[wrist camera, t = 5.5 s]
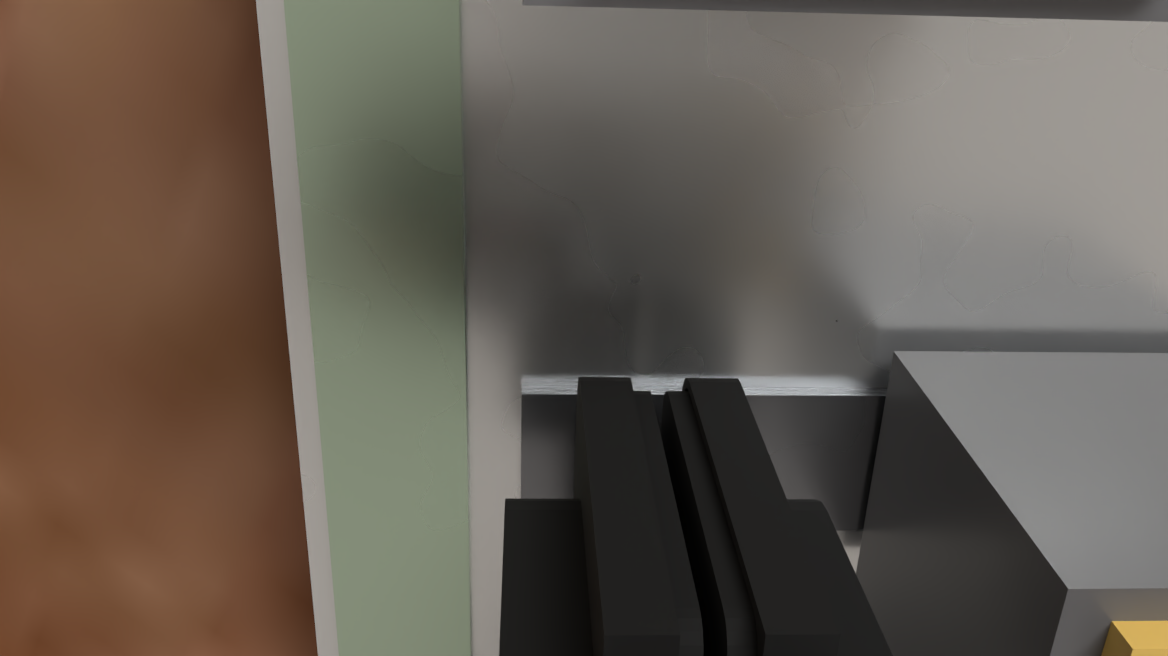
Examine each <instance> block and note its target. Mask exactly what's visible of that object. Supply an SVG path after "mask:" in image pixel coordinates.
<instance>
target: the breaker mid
mask: <svg viewBox="0 0 1168 656" xmlns="http://www.w3.org/2000/svg"><path fill="white" fill-rule="evenodd" d="M856 575H857V577H858V580H859V582H860V584H861V586H862V588H863V591H864V593H865V595H866V597H867V600H868V602H869V604H870V606H871V608H872V611H873V613H874V615H875V617H876V619H877V622H878V624H879V626H880V628H881V630H882V633H883V635H884V637H885V639H886V642H887V644H888V646H889V648H890V650H891V653H892V655H893V656H1168V353H1100V352H958V351H894V352H893V358H892V364H891V370H890V376H889V381H888V387H887V393H886V399H885V405H884V411H883V417H882V423H881V428H880V434H879V440H878V446H877V452H876V458H875V464H874V470H873V475H872V481H871V487H870V493H869V499H868V505H867V511H866V517H865V523H864V528H863V534H862V540H861V546H860V552H859V558H858V564H857V570H856Z"/></svg>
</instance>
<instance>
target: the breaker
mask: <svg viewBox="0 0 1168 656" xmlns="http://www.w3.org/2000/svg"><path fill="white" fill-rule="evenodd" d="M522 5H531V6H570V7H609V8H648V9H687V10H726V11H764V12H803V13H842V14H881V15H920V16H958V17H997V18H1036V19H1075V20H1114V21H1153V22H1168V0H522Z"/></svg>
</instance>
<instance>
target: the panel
mask: <svg viewBox="0 0 1168 656" xmlns="http://www.w3.org/2000/svg"><path fill="white" fill-rule="evenodd" d="M256 7H257V18H258V29H259V39H260V50H261V60H262V71H263V81H264V92H265V102H266V113H267V123H268V134H269V144H270V155H271V166H272V176H273V187H274V197H275V208H276V218H277V229H278V239H279V250H280V260H281V271H282V282H283V292H284V303H285V313H286V324H287V334H288V345H289V355H290V366H291V376H292V387H293V397H294V408H295V419H296V429H297V440H298V450H299V461H300V471H301V482H302V492H303V503H304V513H305V524H306V534H307V545H308V556H309V566H310V577H311V587H312V598H313V608H314V619H315V629H316V640H317V650H318V656H499V645H500V618H501V592H502V565H503V539H504V513H505V498H517V499H573V491H574V463H575V436H576V408H577V386H578V378H579V377H630V378H631V381H632V386H633V391H651V394H652V398H653V403H654V407H655V412H656V416H657V420H658V425H659V429H660V434H661V423H662V410H663V400H664V394H665V392H666V391H682V387H683V383H684V380H685V378H738V379H739V381H740V383H741V385H742V388H743V390H744V393H745V395H746V398H747V400H748V403H749V405H750V408H751V410H752V413H753V415H754V418H755V420H756V423H757V425H758V428H759V430H760V433H761V435H762V438H763V440H764V443H765V445H766V448H767V450H768V453H769V455H770V458H771V460H772V463H773V465H774V468H775V471H776V473H777V476H778V478H779V481H780V483H781V486H782V488H783V491H784V493H785V496H786V498H787V499H816V500H819V501H821V502H822V503H823V505H824V506H825V508H826V509H827V511H828V513H829V516H830V518H831V520H832V522H833V524H834V527H835V529H836V531H837V533H838V535H839V538H840V540H841V542H842V544H843V547H844V549H845V551H846V553H847V555H848V558H849V560H850V562H851V564H852V566H853V569H854V571H855V573H856V570H857V564H858V558H859V552H860V546H861V540H862V534H863V528H864V523H865V517H866V511H867V505H868V499H869V493H870V487H871V481H872V475H873V470H874V464H875V458H876V452H877V446H878V440H879V434H880V428H881V423H882V417H883V411H884V405H885V399H886V393H887V387H888V381H889V376H890V370H891V364H892V358H893V352H894V351H958V352H1100V353H1168V22H1153V21H1114V20H1075V19H1036V18H997V17H958V16H920V15H881V14H842V13H803V12H764V11H726V10H687V9H648V8H609V7H570V6H531V5H522V0H256Z"/></svg>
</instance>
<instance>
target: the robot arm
mask: <svg viewBox="0 0 1168 656" xmlns="http://www.w3.org/2000/svg"><path fill="white" fill-rule="evenodd" d="M499 656H893V655H892V653H891V650H890V648H889V646H888V644H887V642H886V639H885V637H884V635H883V633H882V630H881V628H880V626H879V624H878V622H877V619H876V617H875V615H874V613H873V611H872V608H871V606H870V604H869V602H868V600H867V597H866V595H865V593H864V591H863V588H862V586H861V584H860V582H859V580H858V577H857V575H856V573H855V571H854V569H853V566H852V564H851V562H850V560H849V558H848V555H847V553H846V551H845V549H844V547H843V544H842V542H841V540H840V538H839V535H838V533H837V531H836V529H835V527H834V524H833V522H832V520H831V518H830V516H829V513H828V511H827V509H826V508H825V506H824V505H823V503H822V502H821V501H819V500H816V499H787V498H786V496H785V493H784V491H783V488H782V486H781V483H780V481H779V478H778V476H777V473H776V471H775V468H774V465H773V463H772V460H771V458H770V455H769V453H768V450H767V448H766V445H765V443H764V440H763V438H762V435H761V433H760V430H759V428H758V425H757V423H756V420H755V418H754V415H753V413H752V410H751V408H750V405H749V403H748V400H747V398H746V395H745V393H744V390H743V388H742V385H741V383H740V381H739V379H738V378H685V380H684V383H683V387H682V391H666V392H665V394H664V400H663V410H662V423H661V434H660V429H659V425H658V420H657V416H656V412H655V407H654V403H653V398H652V394H651V391H633V386H632V381H631V378H630V377H579V378H578V386H577V408H576V436H575V463H574V491H573V499H517V498H505V513H504V539H503V565H502V592H501V618H500V645H499Z"/></svg>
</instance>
